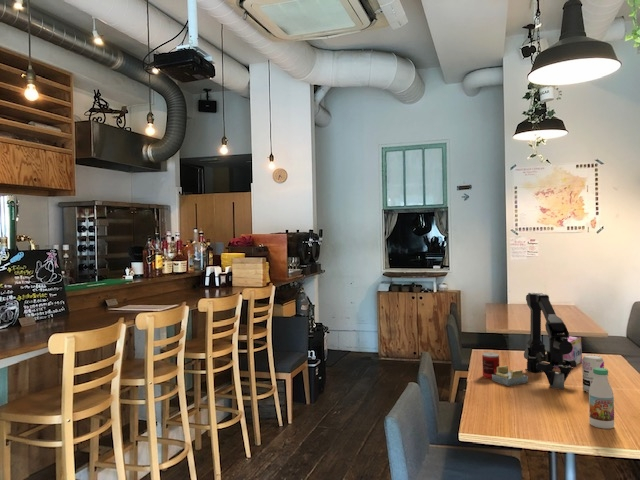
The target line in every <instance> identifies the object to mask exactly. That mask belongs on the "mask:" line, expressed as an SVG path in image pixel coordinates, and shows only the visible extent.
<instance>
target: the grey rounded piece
mask: <svg viewBox="0 0 640 480" xmlns="http://www.w3.org/2000/svg"><path fill="white" fill-rule="evenodd" d="M549 388H552V389H554V390H555V389H556V390H563V389H565V382H564V374H563V373H560V371H555V376H554V381H553V385H550V384H549Z"/></svg>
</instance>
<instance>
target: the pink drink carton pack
mask: <svg viewBox="0 0 640 480" xmlns="http://www.w3.org/2000/svg"><path fill="white" fill-rule="evenodd" d="M568 341H569V342H570V343H571V344H572V346H573V350H572V351H571V353H569V354H565V355H563V359H565V358H567V359H571V360H575V362H576V366H577V365H579V364H582V359H583V351H582V337H581V336H570V335H569V338H568ZM570 367H571V366H570ZM571 368H572V367H571ZM553 369H557V370H560V369H559V368H558V367H554V368H553Z"/></svg>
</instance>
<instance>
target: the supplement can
mask: <svg viewBox="0 0 640 480" xmlns="http://www.w3.org/2000/svg"><path fill="white" fill-rule="evenodd" d="M581 364H582V365H581V366H582V390H583V391H584V392H585V391H586V392H585V393H587V392H588V393H587V394H589V389H590V386H591V384H592V382H593V379H594V375H593V374H594V373H593V369H594V368H605V360H604V359H603V357H602V356H600V355H595V354H594V355H593V354H585V355H583V356H582V362H581Z"/></svg>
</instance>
